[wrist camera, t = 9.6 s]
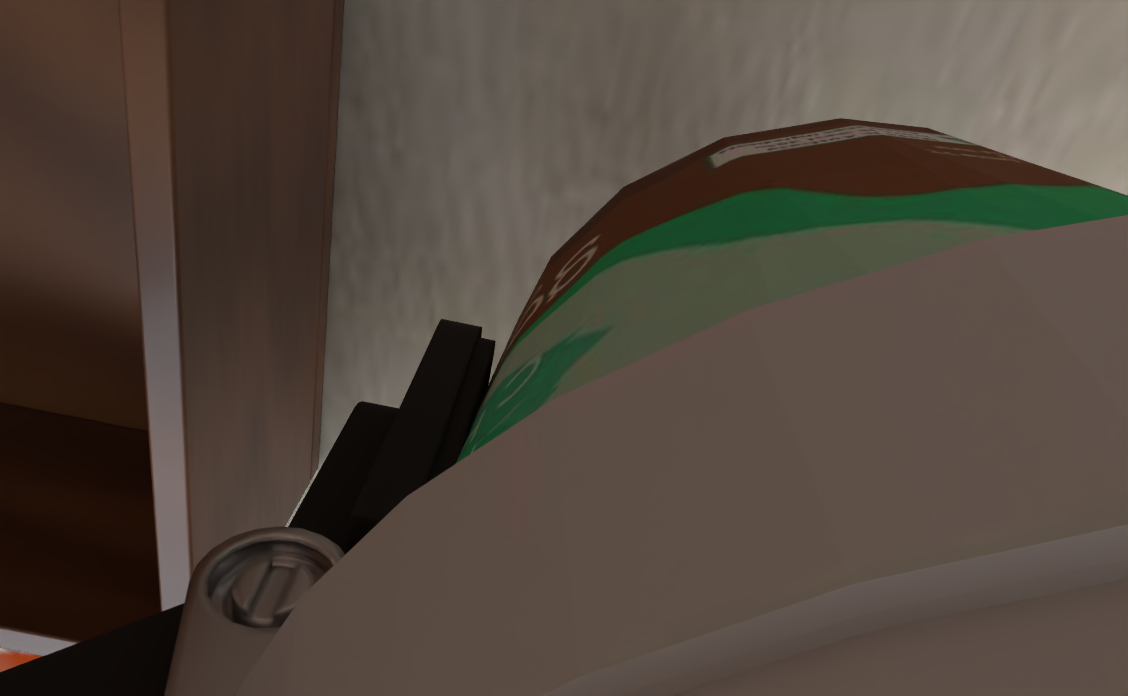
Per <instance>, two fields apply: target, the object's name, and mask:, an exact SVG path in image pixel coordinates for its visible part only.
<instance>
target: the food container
mask: <svg viewBox="0 0 1128 696" xmlns="http://www.w3.org/2000/svg"><path fill="white" fill-rule="evenodd" d="M236 696H1128V196H1127V195H1124V194H1121V193H1118V192H1115V191H1112V190H1109V189H1106V188H1103V187H1101V186H1098V185H1095V184H1092V183H1089V182H1086V181H1083V180H1080V179H1077V178H1074V177H1071V176H1068V175H1065V174H1062V173H1059V172H1056V171H1053V170H1050V169H1047V168H1044V167H1041V166H1038V165H1035V164H1032V163H1029V162H1027V161H1024V160H1021V159H1018V158H1015V157H1012V156H1009V155H1006V154H1003V153H1000V152H997V151H994V150H991V149H988V148H985V147H982V146H979V145H976V144H973V143H970V142H967V141H964V140H961V139H958V138H955V137H953V136H950V135H947V134H944V133H941V132H938V131H935V130H932V129H929V128H923V127H914V126H905V125H896V124H887V123H878V122H869V121H860V120H851V119H841V118H840V119H833V120H827V121H821V122H815V123H809V124H803V125H797V126H791V127H785V128H779V129H773V130H767V131H761V132H755V133H749V134H742V135H736V136H730V137H724V138H722V139H720V140H718V141H716V142H714V143H712V144H710V145H708V146H706V147H704V148H702V149H700V150H698V151H695V152H693V153H691V154H689V155H687V156H685V157H683V158H681V159H679V160H677V161H675V162H673V163H671V164H669V165H667V166H665V167H663V168H661V169H659V170H657V171H655V172H653V173H651V174H649V175H647V176H645V177H643V178H641V179H639V180H637V181H635V182H633V183H631V184H629V185H627V186H625V187H623V188H622V189H621V190H620V191H619V192H618V193H617V194H616V195H615V196H614V197H613V198H612V199H611V200H609V201H608V202H607V203H606V204H605V205H604V206H603V207H602V208H601V209H600V210H599V211H598V212H597V213H596V214H595V215H594V216H593V217H592V218H591V219H590V220H589V221H588V222H587V223H586V224H585V225H584V226H583V227H582V228H581V229H579V230H578V231H577V232H576V233H575V234H574V235H573V236H572V237H571V238H570V239H569V240H568V241H567V242H566V243H565V244H564V245H563V246H562V247H561V248H560V249H559V250H558V251H557V252H556V253H555V254H554V255H553V256H552V257H551V258H550V260H549V262H548V264H547V266H546V268H545V270H544V272H543V274H542V275H541V277H540V279H539V281H538V283H537V285H536V287H535V289H534V291H533V292H532V294H531V296H530V298H529V300H528V302H527V304H526V306H525V307H524V309H523V311H522V313H521V315H520V317H519V319H518V321H517V323H516V325H515V328H514V330H513V332H512V334H511V337H510V339H509V341H508V343H507V345H506V348H505V350H504V352H503V354H502V357H501V359H500V361H499V363H498V365H497V368H496V370H495V372H494V374H493V376H492V379H491V381H490V383H489V385H488V388H487V390H486V392H485V395H484V397H483V399H482V401H481V404H480V406H479V409H478V411H477V413H476V416H475V418H474V421H473V423H472V426H471V428H470V431H469V433H468V436H467V438H466V440H465V443H464V445H463V448H462V450H461V453H460V455H459V458H458V460H457V462H456V464H455V465H453V466H452V467H450V468H449V469H447V470H446V471H444V472H443V473H441V474H440V475H438V476H437V477H435V478H434V479H432V480H431V481H429V482H428V483H426V484H425V485H423V486H422V487H420V488H419V489H417V490H416V491H414V492H413V493H411V494H409V495H408V496H406V497H405V498H404V499H403V500H402V501H401V502H400V503H399V504H398V505H397V506H396V507H395V508H394V509H393V510H392V511H391V512H390V513H389V514H388V515H386V516H385V517H384V518H383V519H382V520H381V521H380V522H379V523H378V524H377V525H376V526H375V527H374V528H373V529H372V530H371V531H370V532H369V533H368V534H367V535H365V536H364V537H363V538H362V539H361V540H360V541H359V542H358V543H357V544H356V545H355V546H354V547H353V548H352V549H351V550H350V551H349V552H348V553H347V554H346V555H345V556H343V557H342V558H341V559H340V560H339V561H338V562H337V563H336V564H335V565H334V566H333V567H332V568H331V569H330V570H329V571H328V572H327V573H326V574H325V575H324V576H323V577H321V578H320V579H319V580H318V581H317V582H316V583H315V584H314V585H313V586H312V587H311V588H310V589H309V590H308V591H307V592H306V593H305V594H304V595H303V596H302V597H301V598H300V600H299V601H298V603H297V604H296V606H295V607H294V609H293V610H292V612H291V613H290V615H289V616H288V618H287V619H286V621H285V622H284V623H283V625H282V626H281V628H280V629H279V631H278V632H277V634H276V635H275V637H274V638H273V640H272V641H271V643H270V644H269V646H268V647H267V648H266V650H265V651H264V653H263V654H262V656H261V657H260V659H259V660H258V662H257V663H256V665H255V666H254V668H253V669H252V670H251V672H250V673H249V675H248V676H247V678H246V679H245V681H244V682H243V684H242V685H241V687H240V688H239V690H238V691H237V694H236Z"/></svg>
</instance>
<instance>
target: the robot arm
mask: <svg viewBox="0 0 1128 696" xmlns="http://www.w3.org/2000/svg"><path fill="white" fill-rule="evenodd" d="M481 335H482V327H479V326H474V325H469V324H464V323H459V322H454V321H449V320H444V319H441V320H440V322H439V324H438V326H437V328H436V330H435V332H434V335H433V337H432V339H431V341H430V343H429V345H428V348H427V350H426V352H425V354H424V356H423V358H422V360H421V363H420V365H419V367H418V369H417V371H416V373H415V376H414V378H413V380H412V382H411V384H410V386H409V389H408V391H407V393H406V395H405V397H404V399H403V401H402V404H401V406H400V408H399V409H398V408H393V407H388V406H383V405H378V404H373V403H368V402H363V401H361V402H359V403H358V404H357V405H356V406H355V408H354V409H353V411H352V413H351V415H350V417H349V418H348V420H347V422H346V424H345V426H344V427H343V429H342V431H341V433H340V435H339V436H338V438H337V440H336V442H335V444H334V445H333V447H332V449H331V451H330V453H329V454H328V456H327V458H326V460H325V462H324V463H323V465H322V467H321V469H320V471H319V472H318V474H317V476H316V478H315V480H314V481H313V483H312V485H311V487H310V489H309V490H308V492H307V494H306V496H305V498H304V499H303V501H302V503H301V505H300V507H299V508H298V510H297V512H296V514H295V516H294V517H293V519H292V521H291V523H290V525H289V526H288V527H281V526H278V527H269V528H260V529H254V530H251V531H248V532H244V533H241V534H238V535H235V536H232V537H230V538H229V539H227V540H225V541H224V542H222V543H220V544H219V545H217V546H215V547H214V548H212V549H211V550H210V551H209V552H208V553H207V554H206V555H205V556H204V557H203V559H202V560H201V561H200V562H199V563H198V564H197V565H196V568H195V570H194V572H193V574H192V577H191V579H190V581H189V585H188V589H187V594H186V598H185V603H183V604H180V605H178V606H175V607H172V608H170V609H167V610H164V611H162V612H159V613H156V614H154V615H151V616H148V617H146V618H143V619H141V620H138V621H135V622H133V623H130V624H127V625H125V626H122V627H119V628H117V629H114V630H111V631H109V632H106V633H103V634H101V635H98V636H95V637H93V638H90V639H87V640H85V641H82V642H80V643H77V644H74V645H72V646H69V647H66V648H64V649H61V650H58V651H56V652H53V653H50V654H48V655H45V656H42V657H40V658H37V659H34V660H32V661H29V662H27V663H24V664H21V665H19V666H16V667H13V668H11V669H8V670H5V671H3V672H0V696H236V694H237V691H238V690H239V688H240V687H241V685H242V684H243V682H244V681H245V679H246V678H247V676H248V675H249V673H250V672H251V670H252V669H253V668H254V666H255V665H256V663H257V662H258V660H259V659H260V657H261V656H262V654H263V653H264V651H265V650H266V648H267V647H268V646H269V644H270V643H271V641H272V640H273V638H274V637H275V635H276V634H277V632H278V631H279V629H280V628H281V626H282V625H283V623H284V622H285V621H286V619H287V618H288V616H289V615H290V613H291V612H292V610H293V609H294V607H295V606H296V604H297V603H298V601H299V600H300V598H301V597H302V596H303V595H304V594H305V593H306V592H307V591H308V590H309V589H310V588H311V587H312V586H313V585H314V584H315V583H316V582H317V581H318V580H319V579H320V578H321V577H323V576H324V575H325V574H326V573H327V572H328V571H329V570H330V569H331V568H332V567H333V566H334V565H335V564H336V563H337V562H338V561H339V560H340V559H341V558H342V557H343V556H345V555H346V554H347V553H348V552H349V551H350V550H351V549H352V548H353V547H354V546H355V545H356V544H357V543H358V542H359V541H360V540H361V539H362V538H363V537H364V536H365V535H367V534H368V533H369V532H370V531H371V530H372V529H373V528H374V527H375V526H376V525H377V524H378V523H379V522H380V521H381V520H382V519H383V518H384V517H385V516H386V515H388V514H389V513H390V512H391V511H392V510H393V509H394V508H395V507H396V506H397V505H398V504H399V503H400V502H401V501H402V500H403V499H404V498H405V497H406V496H408V495H409V494H411V493H413V492H414V491H416V490H417V489H419V488H420V487H422V486H423V485H425V484H426V483H428V482H429V481H431V480H432V479H434V478H435V477H437V476H438V475H440V474H441V473H443V472H444V471H446V470H447V469H449V468H450V467H452V466H453V465H455V464H456V462H457V460H458V458H459V455H460V453H461V450H462V448H463V445H464V443H465V440H466V438H467V436H468V433H469V431H470V428H471V426H472V423H473V421H474V418H475V416H476V413H477V411H478V409H479V406H480V404H481V401H482V399H483V397H484V395H485V392H486V390H487V388H488V384H489V379H490V373H491V367H492V361H493V355H494V349H495V341H494V340H489V339H484V338H481Z"/></svg>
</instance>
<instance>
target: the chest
mask: <svg viewBox="0 0 1128 696" xmlns="http://www.w3.org/2000/svg"><path fill="white" fill-rule="evenodd" d="M343 8H344V0H0V648H4V649H9V650H14V651H19V652H24V653H30V654H35V655H40V656H45V655H48V654H50V653H53V652H56V651H58V650H61V649H64V648H66V647H69V646H72V645H74V644H77V643H80V642H82V641H85V640H87V639H90V638H93V637H95V636H98V635H101V634H103V633H106V632H109V631H111V630H114V629H117V628H119V627H122V626H125V625H127V624H130V623H133V622H135V621H138V620H141V619H143V618H146V617H148V616H151V615H154V614H156V613H159V612H162V611H164V610H167V609H170V608H172V607H175V606H178V605H180V604H183V603H185V598H186V594H187V589H188V585H189V581H190V579H191V577H192V574H193V572H194V570H195V568H196V565H197V564H198V563H199V562H200V561H201V560H202V559H203V557H204V556H205V555H206V554H207V553H208V552H209V551H210V550H211V549H212V548H214V547H215V546H217V545H219V544H220V543H222V542H224V541H225V540H227V539H229V538H230V537H232V536H235V535H238V534H241V533H244V532H248V531H251V530H254V529H260V528H269V527H278V526H281V527H285V526H286V524H287V522H288V520H289V519H290V517H291V515H292V513H293V511H294V510H295V508H296V506H297V504H298V503H299V501H300V499H301V497H302V495H303V494H304V492H305V490H306V488H307V487H308V485H309V483H310V480H311V479H312V478H313V476H314V474H315V472H316V471H317V469H318V461H319V443H320V425H321V407H322V389H323V370H324V352H325V334H326V316H327V298H328V280H329V262H330V243H331V225H332V207H333V189H334V171H335V153H336V135H337V116H338V98H339V80H340V62H341V44H342V26H343Z"/></svg>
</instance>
